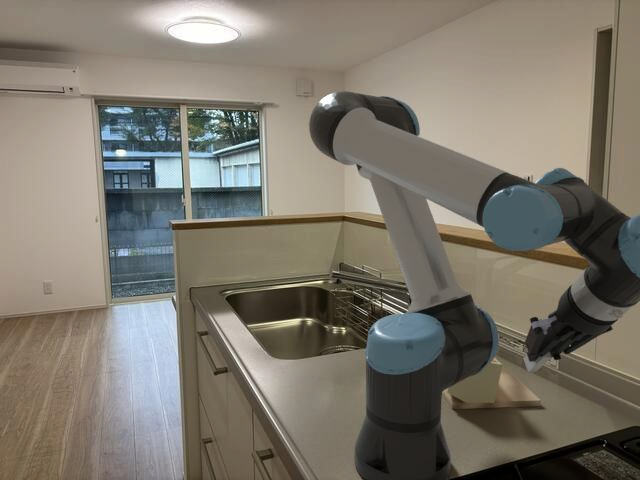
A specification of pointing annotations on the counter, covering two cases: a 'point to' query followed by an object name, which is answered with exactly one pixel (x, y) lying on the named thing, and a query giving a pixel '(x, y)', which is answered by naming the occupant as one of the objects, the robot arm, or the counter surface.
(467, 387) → the milk carton
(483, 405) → the board
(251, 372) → the counter surface
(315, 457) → the counter surface
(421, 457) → the robot arm
